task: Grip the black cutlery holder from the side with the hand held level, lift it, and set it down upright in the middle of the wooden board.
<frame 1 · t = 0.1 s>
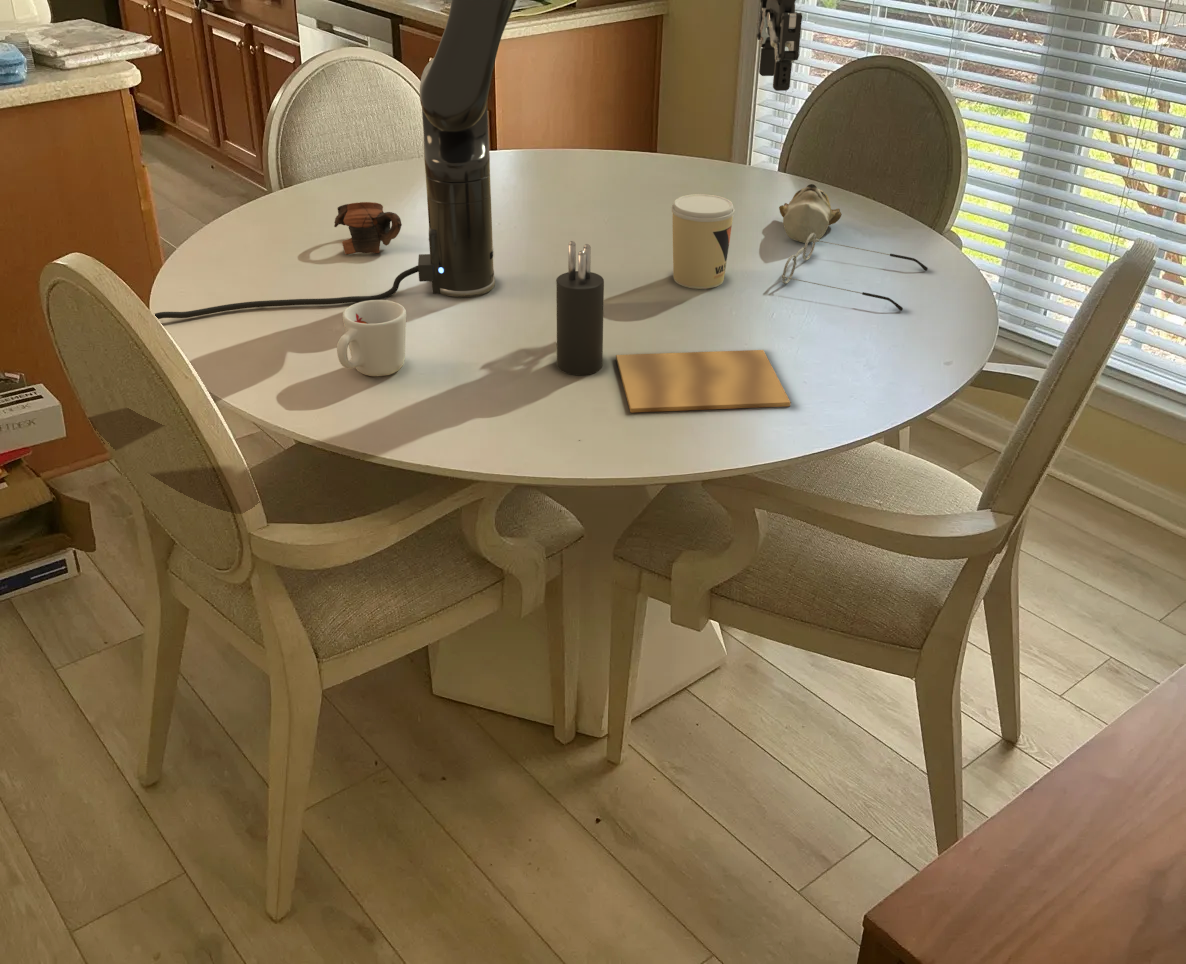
hand: (773, 82, 163), 29 cm above the table, tool pointing down, fingers open, 8 cm apart
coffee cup: (698, 280, 178), on the table
cutlery holder: (579, 365, 153), on the table
ceramic sculpture: (806, 233, 196), on the table
cup: (372, 373, 150), on the table
eyeglasses: (853, 281, 179), on the table
pottery mug: (370, 247, 189), on the table
wooden board: (699, 381, 149), on the table
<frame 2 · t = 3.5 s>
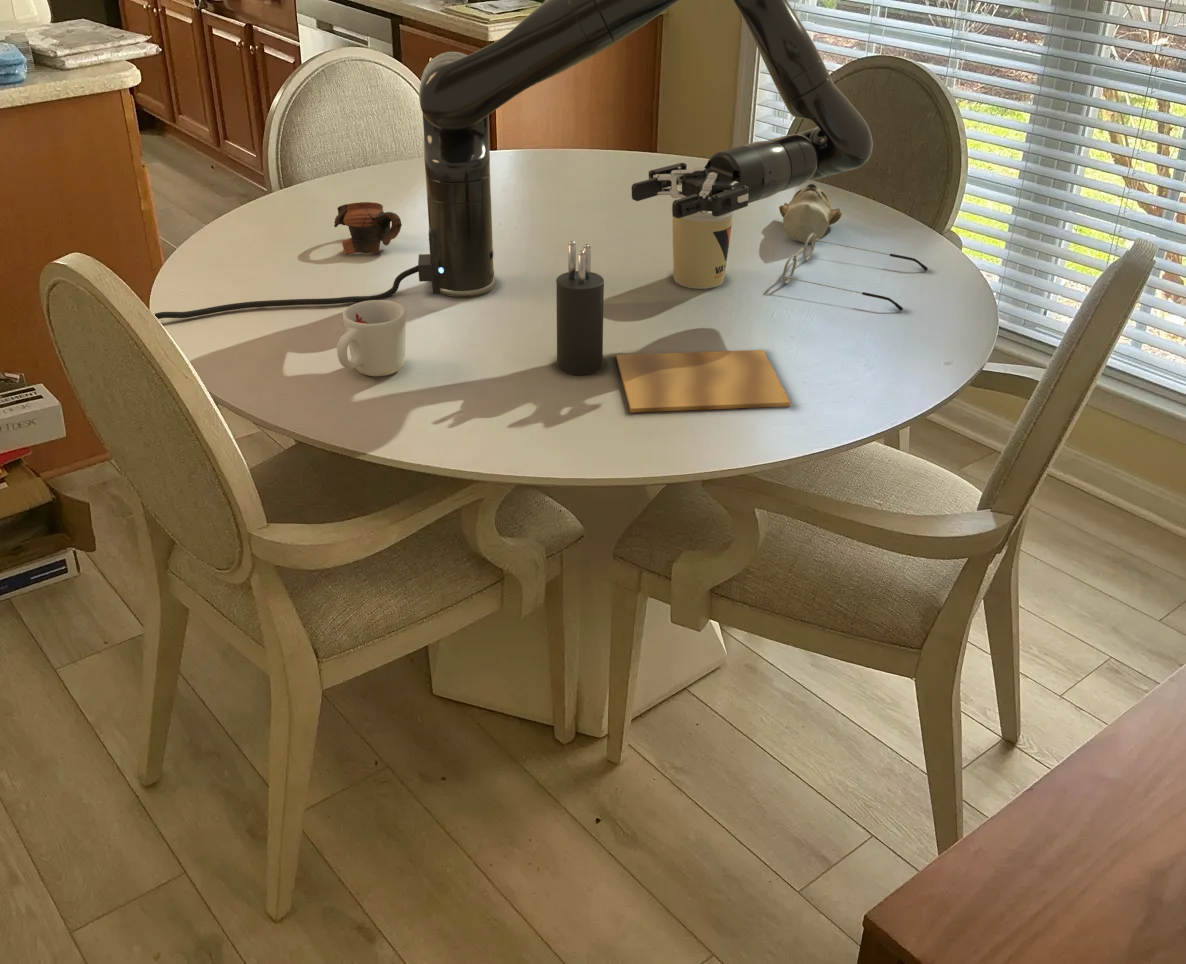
hand: (653, 201, 148), 20 cm above the table, tool horizontal, fingers open, 8 cm apart
nothing on the table moved.
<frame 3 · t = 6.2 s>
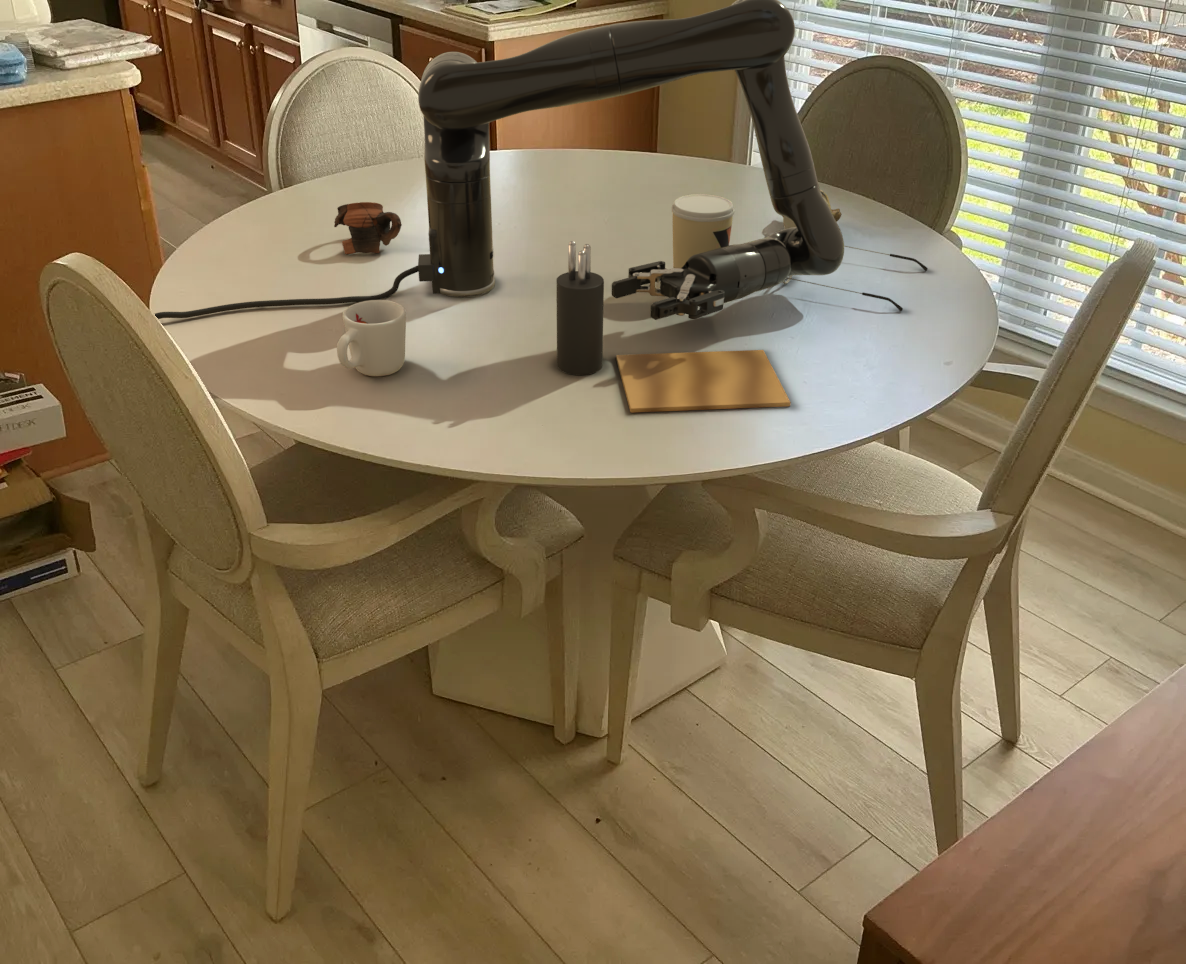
hand: (632, 301, 153), 7 cm above the table, tool horizontal, fingers open, 8 cm apart
nothing on the table moved.
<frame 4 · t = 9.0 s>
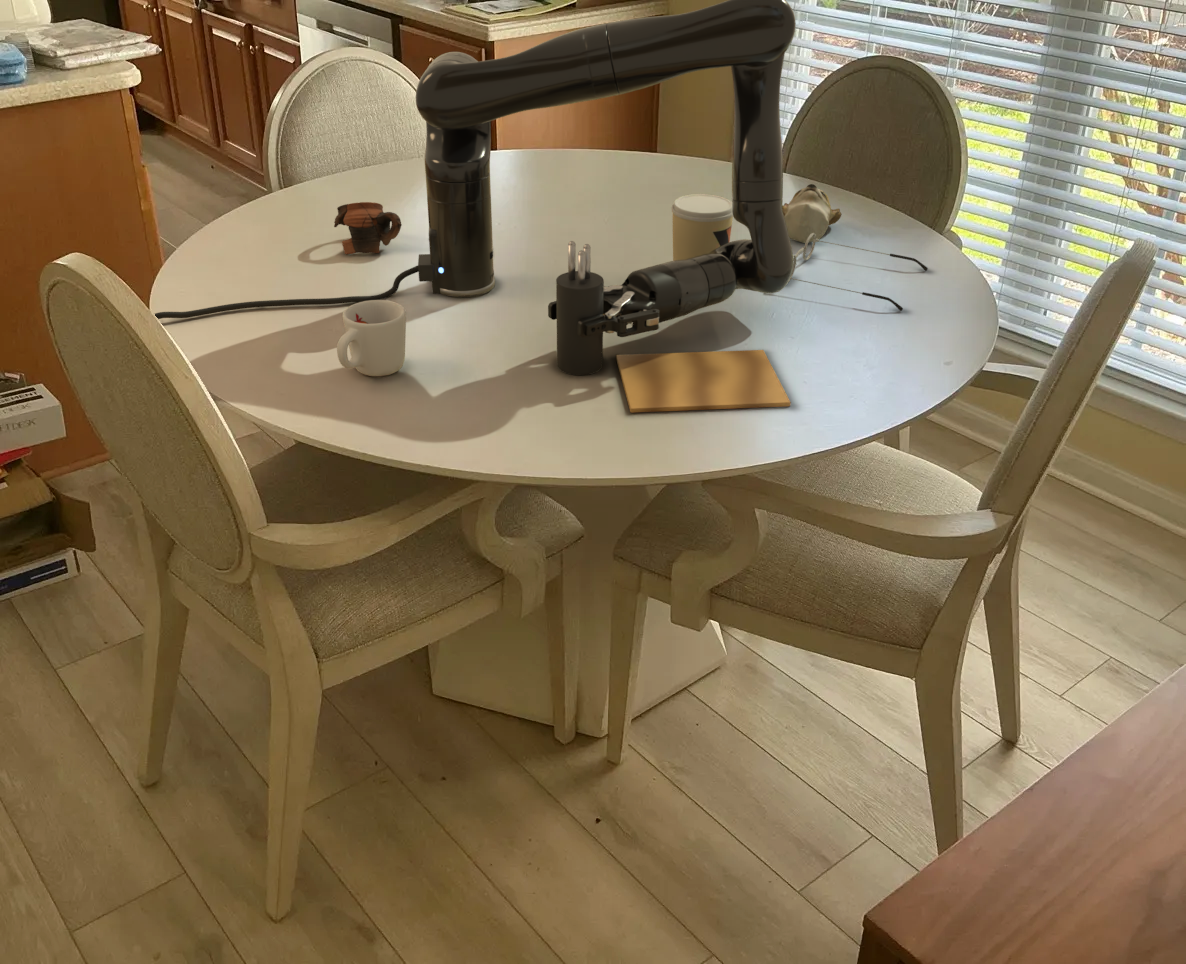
hand: (564, 320, 148), 7 cm above the table, tool horizontal, fingers closed on cutlery holder, 6 cm apart
cutlery holder: (579, 365, 153), on the table, touching gripper
everything else where it was.
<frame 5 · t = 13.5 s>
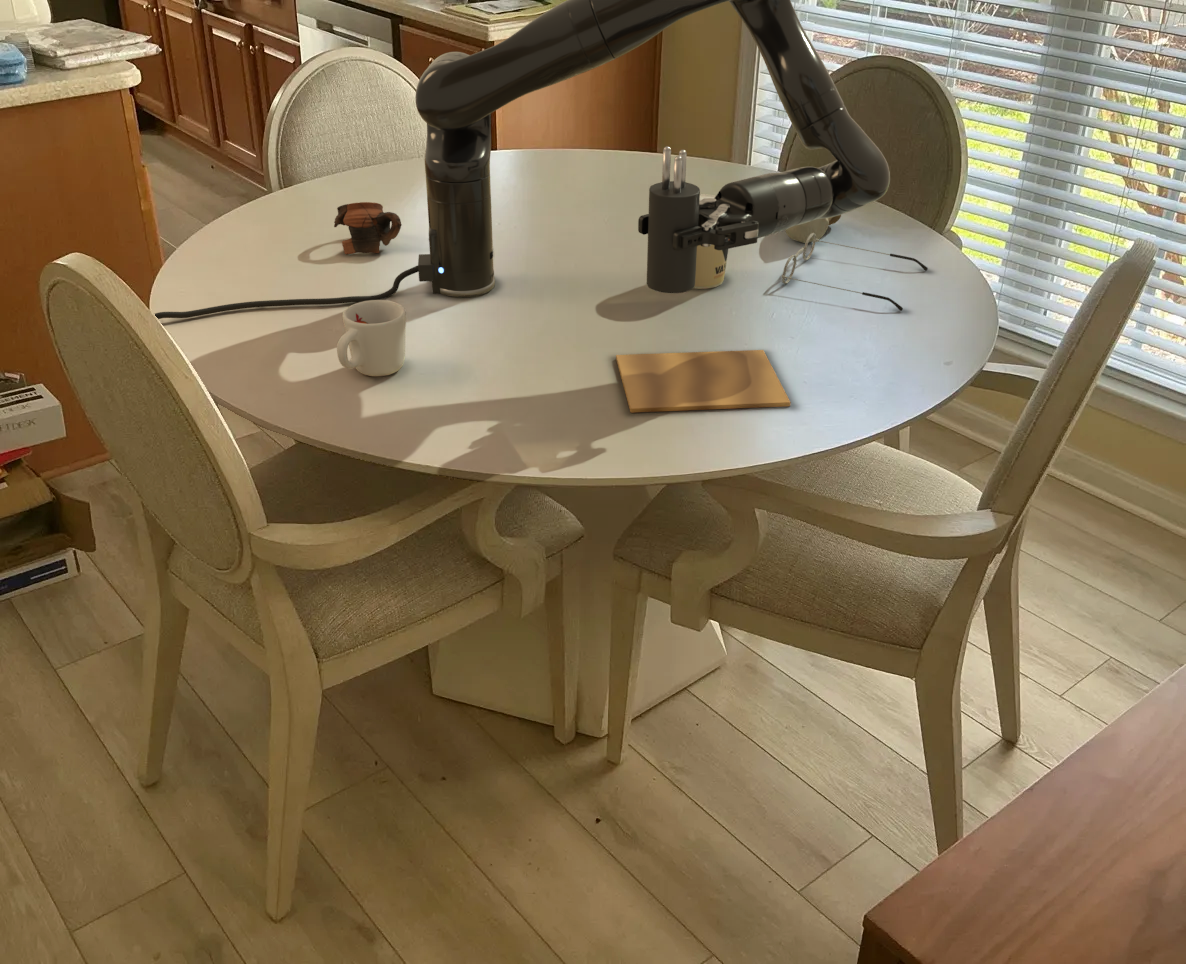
hand: (657, 233, 138), 20 cm above the table, tool horizontal, fingers closed on cutlery holder, 6 cm apart
cutlery holder: (670, 283, 143), point 13 cm above the table, touching gripper
everything else where it was.
when the fingers open (8 cm above the table, at t = 18.0 s): cutlery holder stays where it is, resting on wooden board.
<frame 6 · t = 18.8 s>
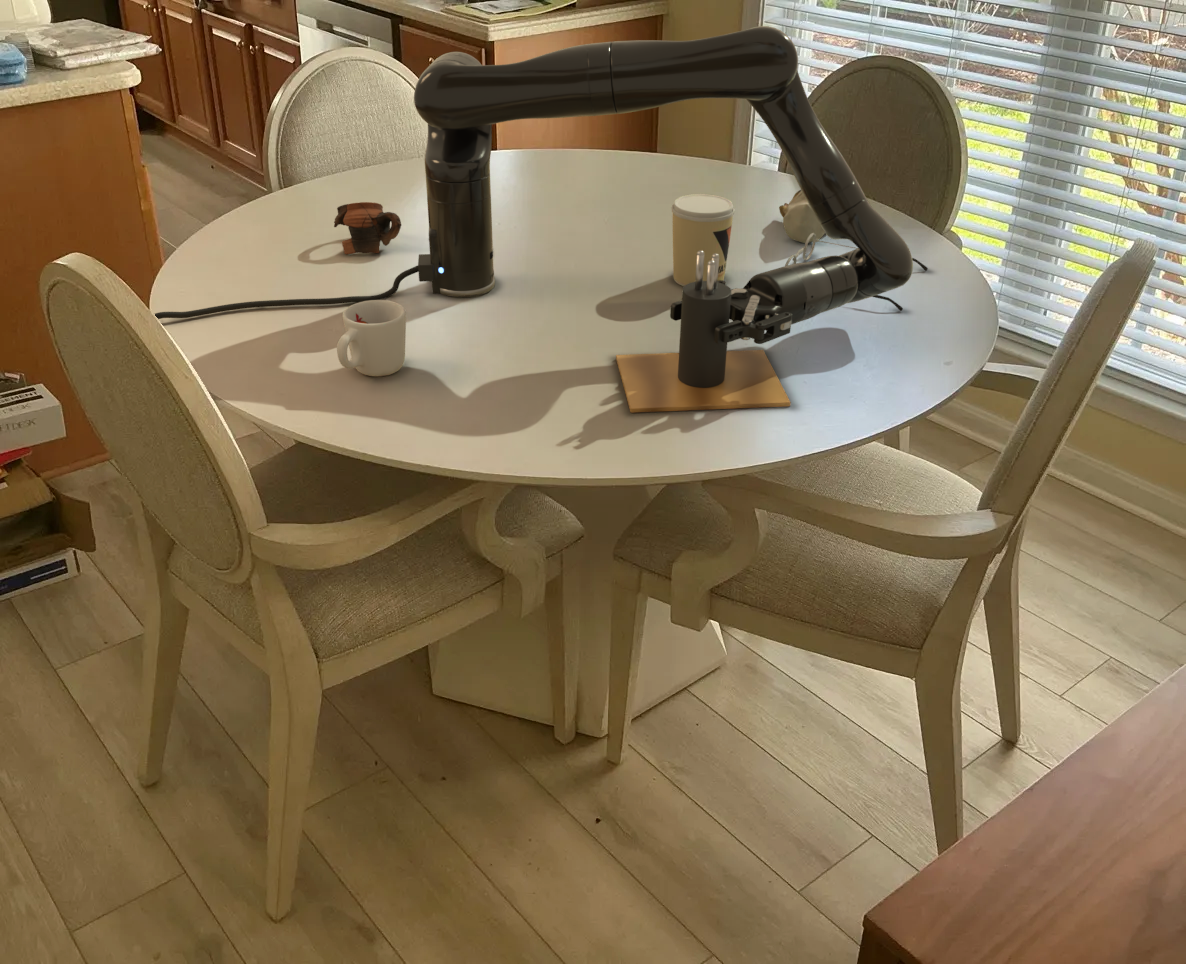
hand: (693, 324, 144), 8 cm above the table, tool horizontal, fingers open, 8 cm apart
cutlery holder: (701, 377, 149), point 1 cm above the table, touching wooden board
everything else where it was.
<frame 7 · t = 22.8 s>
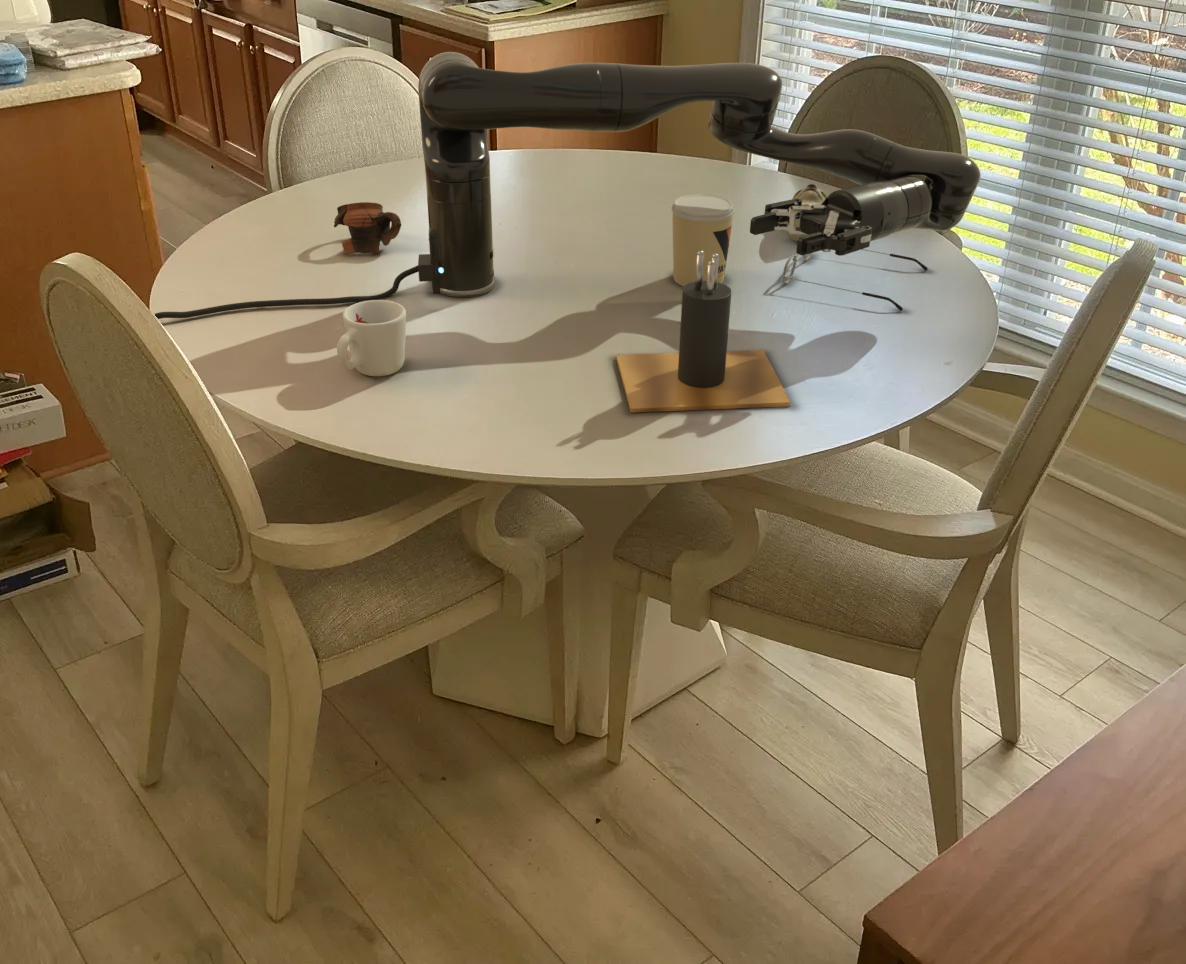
hand: (775, 236, 145), 17 cm above the table, tool horizontal, fingers open, 8 cm apart
nothing on the table moved.
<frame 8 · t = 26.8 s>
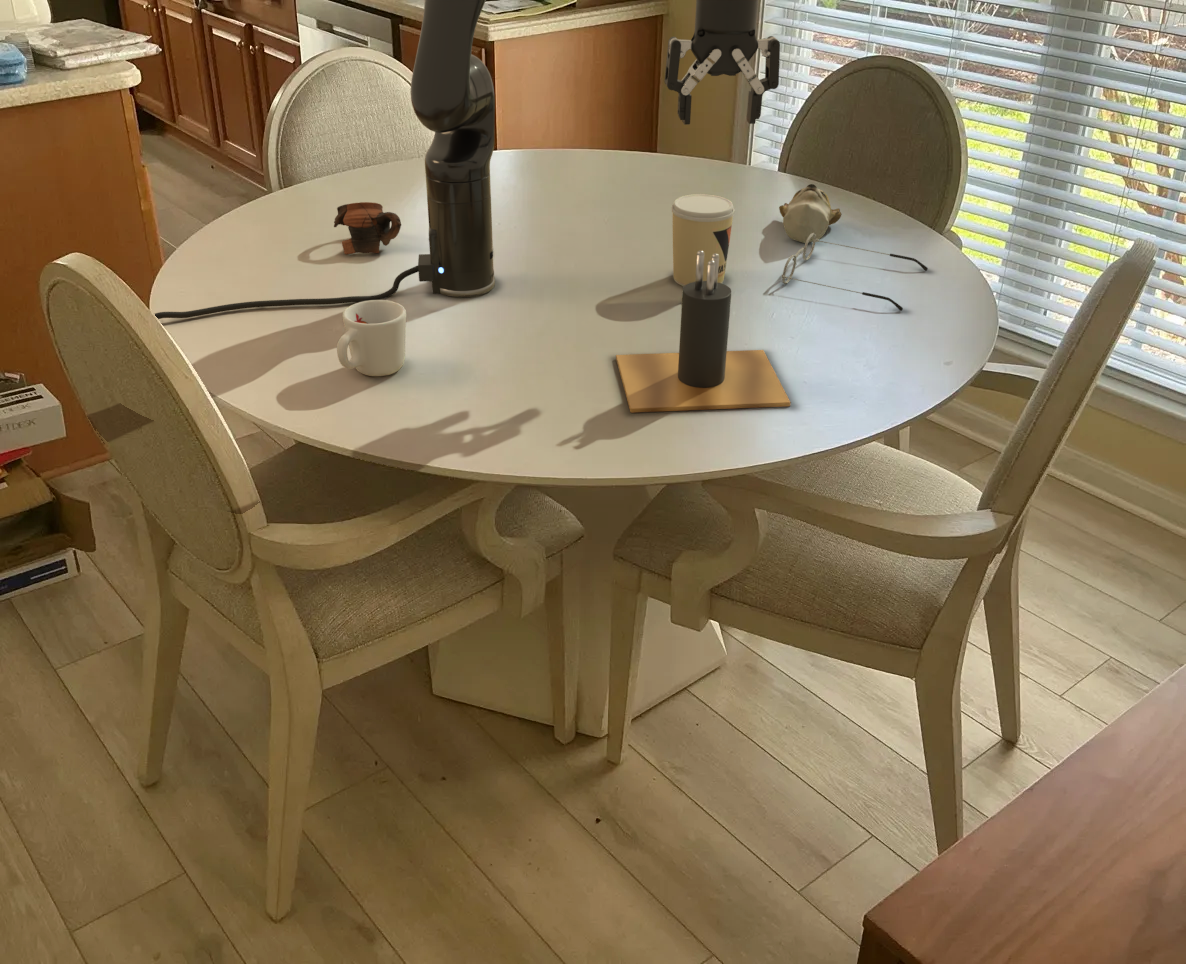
hand: (718, 122, 149), 28 cm above the table, tool pointing down, fingers open, 8 cm apart
nothing on the table moved.
at the end: cutlery holder inside the target area on the wooden board (0.1 cm from its centre), point 0.6 cm above the wooden board's base; cutlery holder tilted 0°; the gripper is holding nothing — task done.
